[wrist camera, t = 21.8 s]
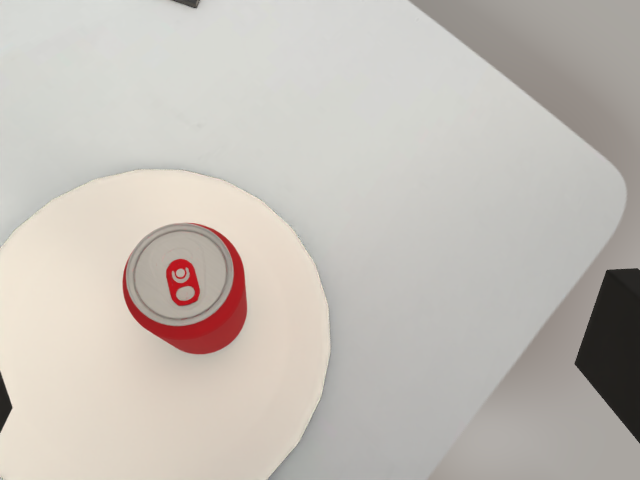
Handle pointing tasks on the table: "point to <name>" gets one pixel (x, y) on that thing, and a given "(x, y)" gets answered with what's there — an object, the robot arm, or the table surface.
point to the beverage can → (187, 287)
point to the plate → (153, 341)
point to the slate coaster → (189, 2)
